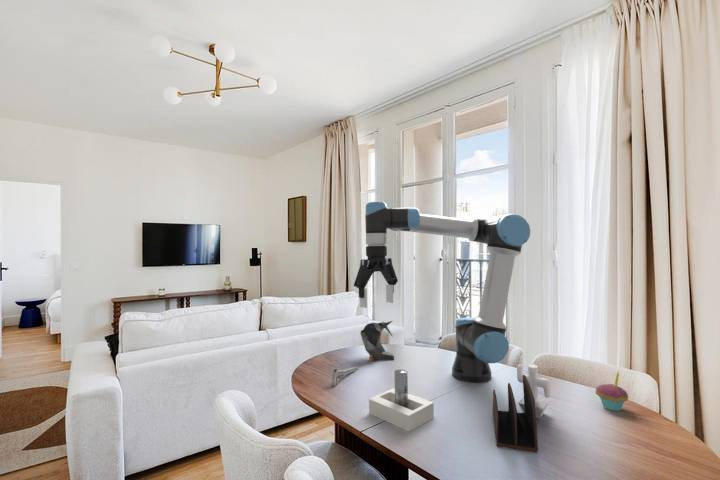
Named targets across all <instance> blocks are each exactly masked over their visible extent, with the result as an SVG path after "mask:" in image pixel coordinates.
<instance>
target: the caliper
mask: <svg viewBox="0 0 720 480" xmlns="http://www.w3.org/2000/svg"><path fill="white" fill-rule="evenodd" d="M357 370H359V369H358V368H357V367H355V366H354V367H350V368H346V369H340V370H339V368H333V372H332V377H331V378H332V379H331V380H332V386H333V387H336V386H337V385H339V381H340V379H342V378H344V376H345V375H347V374H351V373H354V372H356V371H357Z"/></svg>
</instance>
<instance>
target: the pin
mask: <svg viewBox="0 0 720 480" xmlns="http://www.w3.org/2000/svg"><path fill="white" fill-rule="evenodd" d="M408 377H409V376H408V371H407V370H406V369H399V368H398V369H395V370H394V388H395V404H398V405H400V406H403V407H405V408H408V392H409V389H408V387H409V385H408V380H409V379H408Z"/></svg>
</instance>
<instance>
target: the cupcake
mask: <svg viewBox="0 0 720 480" xmlns="http://www.w3.org/2000/svg"><path fill="white" fill-rule="evenodd" d="M619 377H620V372H619V370H618V371H617V372H616V373H615V382H614V384H613V383H608V384H607V383H606V384H600V385H598V386H597V387H595V392H594V393H595V394H596V395H597V397H599V398H600V399H599V400H600V401H601V403H602V406H603V408H605V409H607V410H610V411H614V412H615V411H617V412H619V411H621V410H622V408H623V405H624V403H625V402H627V401H628V400H629V395H628V393H627V391H626V390H625V389H623V388H622V387H620V386H618V384H619Z"/></svg>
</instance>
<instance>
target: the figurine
mask: <svg viewBox="0 0 720 480" xmlns="http://www.w3.org/2000/svg"><path fill="white" fill-rule="evenodd" d="M527 372H528V374H525V373H524V366H523V364H520V363H519V364H517V367H516V376H517V377H516V378H517V381H518V382H519V383H521V384H523V375H525V376H526V378H527V380H528V382H529V385H530V387H531V390H532V393H533V397H534V400H535V412H536V419H539V420H540V419H541V417H542V416H543V415H544V413H545V412H546V409H547V407H548V405H549V403H550V400H546V399H543V398H539V388H542V389H543V393H544V394H543V395H544V398H547V399H550V398H551V382H550V380H549V379H548V378H543V377H539V366H538V365H537V364H534V363H530V364H527ZM517 404H518V405H519V407H520V409H521V410H522V413H525V410H524V396H523V397H522V398H520V400H519V401H518V402H517Z"/></svg>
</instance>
